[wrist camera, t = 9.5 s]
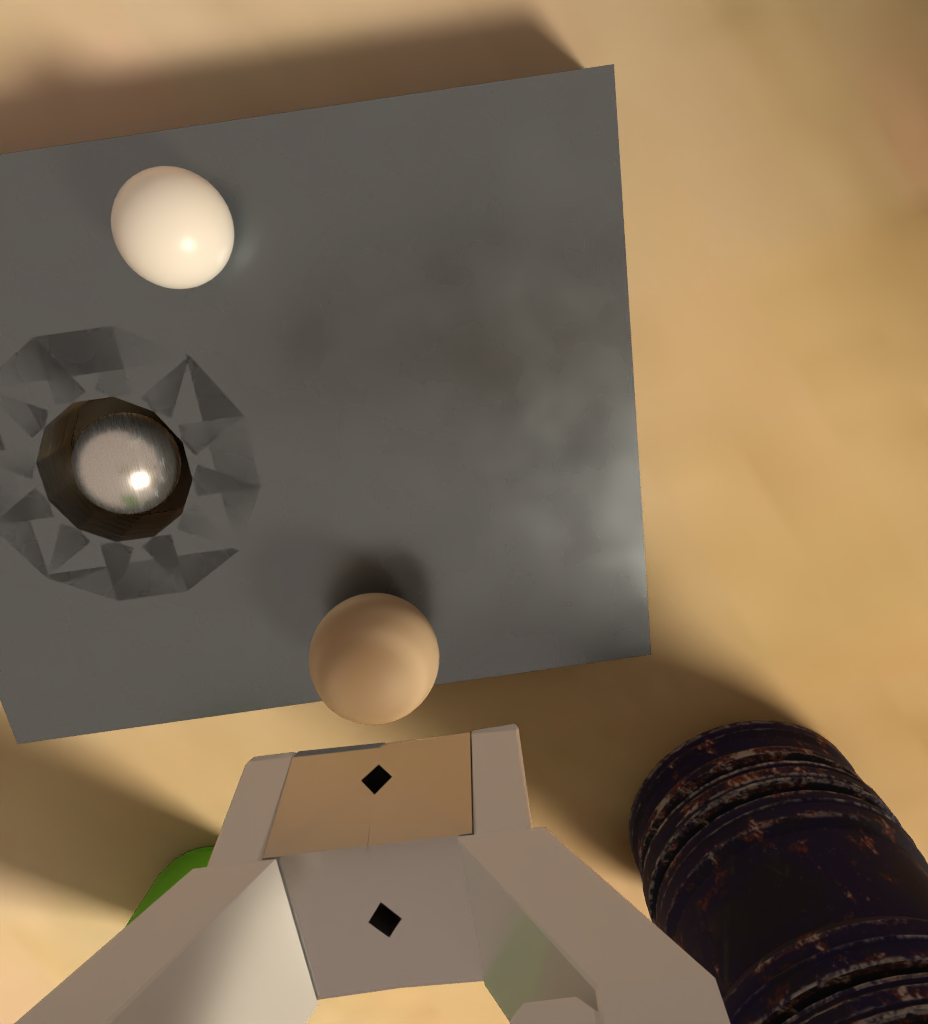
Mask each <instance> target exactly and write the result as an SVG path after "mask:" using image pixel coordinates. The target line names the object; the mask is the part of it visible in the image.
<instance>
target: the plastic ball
mask: <svg viewBox="0 0 928 1024" xmlns="http://www.w3.org/2000/svg"><path fill="white" fill-rule="evenodd" d="M111 230H112V234H113V238H114V241H115V244H116V246H117V248H118V251H119V252H120V254H121V256H122V257H123V259H124V260H125V261H126V263H127V264H128V265H129V266H130V267H131V268H132V269H133V270H134V271H135V272H136V273H137V274H138V275H140V276H141V277H143V278H144V279H146V280H147V281H150V282H152V283H154V284H156V285H159V286H162V287H166V288H171V289H188V288H193V287H197V286H200V285H202V284H204V283H206V282H208V281H210V280H211V279H213V278H214V277H215V276H217V275H218V274H219V273H220V272H221V271H222V269H223V268H224V266H225V265H226V263H227V262H228V260H229V258H230V255H231V252H232V249H233V244H234V225H233V220H232V216H231V213H230V211H229V208H228V206H227V204H226V202H225V201H224V199H223V197H222V196H221V195H220V193H219V192H218V191H217V190H216V189H215V188H214V186H213V185H211V184H210V183H209V182H208V181H207V180H205V179H204V178H202V177H201V176H199V175H197V174H195V173H193V172H191V171H189V170H186V169H183V168H179V167H174V166H157V167H152V168H148V169H146V170H143V171H141V172H139V173H137V174H136V175H134V176H132V177H131V178H130V179H129V180H127V182H126V183H125V184H124V185H123V186H122V187H121V189H120V190H119V192H118V194H117V196H116V198H115V200H114V204H113V207H112V212H111Z"/></svg>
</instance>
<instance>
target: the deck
mask: <svg viewBox="0 0 928 1024" xmlns="http://www.w3.org/2000/svg"><path fill="white" fill-rule="evenodd" d="M157 166H174V167H179V168H183V169H186V170H189V171H191V172H193V173H195V174H197V175H199V176H201V177H202V178H204V179H205V180H207V181H208V182H209V183H210V184H211V185H213V186H214V188H215V189H216V190H217V191H218V192H219V193H220V195H221V196H222V197H223V199H224V201H225V202H226V204H227V206H228V208H229V211H230V213H231V216H232V220H233V225H234V244H233V249H232V252H231V255H230V258H229V260H228V262H227V263H226V265H225V266H224V268H223V269H222V271H221V272H220V273H219V274H218V275H217V276H215V277H214V278H213V279H211V280H210V281H208V282H206V283H204V284H202V285H200V286H197V287H193V288H188V289H171V288H166V287H162V286H159V285H156V284H154V283H152V282H150V281H147V280H146V279H144V278H143V277H141V276H140V275H138V274H137V273H136V272H135V271H134V270H133V269H132V268H131V267H130V266H129V265H128V264H127V263H126V261H125V260H124V259H123V257H122V256H121V254H120V252H119V251H118V248H117V246H116V244H115V241H114V238H113V234H112V230H111V212H112V207H113V204H114V200H115V198H116V196H117V194H118V192H119V190H120V189H121V187H122V186H123V185H124V184H125V183H126V182H127V180H129V179H130V178H131V177H132V176H134V175H136V174H137V173H139V172H141V171H143V170H146V169H148V168H152V167H157ZM107 397H116V398H118V399H121V400H124V401H127V402H129V403H132V404H135V405H138V406H140V407H143V408H146V409H148V410H151V411H154V412H155V413H156V414H157V415H158V417H159V418H160V419H161V420H162V421H163V422H164V423H165V424H166V425H167V426H168V427H169V428H170V429H171V430H172V431H173V432H174V434H175V435H176V436H177V437H178V438H179V439H180V440H181V441H182V442H183V445H184V449H185V453H186V457H187V460H188V464H189V468H190V472H191V475H192V479H193V481H192V484H191V487H190V490H189V494H188V497H187V500H186V503H185V505H183V506H182V507H181V508H180V509H178V510H174V511H167V512H160V513H153V514H146V515H142V514H139V513H135V514H120V513H114V512H111V511H108V510H105V509H103V508H101V507H99V506H97V505H95V504H94V503H92V502H91V501H90V500H89V499H88V498H87V497H86V496H85V495H84V494H83V493H82V492H81V490H80V489H79V487H78V486H77V484H76V482H75V479H74V476H73V473H72V466H71V458H72V452H73V447H72V444H71V440H72V436H73V432H74V428H75V424H76V420H77V416H78V412H79V409H80V408H81V407H82V406H83V405H84V404H86V403H87V402H88V401H89V400H93V399H100V398H107ZM366 593H384V594H390V595H393V596H397V597H399V598H402V599H404V600H406V601H408V602H409V603H411V604H412V605H414V606H415V607H416V608H417V609H418V610H419V611H420V612H421V613H422V614H423V615H424V616H425V617H426V619H427V620H428V621H429V623H430V625H431V626H432V628H433V630H434V633H435V635H436V638H437V642H438V647H439V668H438V673H437V677H436V679H435V682H434V685H438V684H445V683H452V682H459V681H466V680H474V679H481V678H488V677H495V676H502V675H509V674H516V673H523V672H530V671H537V670H544V669H551V668H558V667H566V666H573V665H580V664H587V663H594V662H601V661H608V660H615V659H622V658H629V657H636V656H643V655H651V646H650V630H649V614H648V598H647V582H646V567H645V551H644V535H643V519H642V503H641V487H640V472H639V456H638V440H637V424H636V408H635V392H634V377H633V361H632V345H631V329H630V313H629V298H628V282H627V266H626V250H625V234H624V218H623V203H622V187H621V171H620V155H619V139H618V123H617V108H616V92H615V76H614V64H612V65H605V66H599V67H592V68H585V69H578V70H571V71H565V72H558V73H551V74H544V75H537V76H530V77H524V78H517V79H510V80H503V81H496V82H490V83H483V84H476V85H469V86H462V87H456V88H449V89H442V90H435V91H428V92H422V93H415V94H408V95H401V96H394V97H388V98H381V99H374V100H367V101H360V102H353V103H347V104H340V105H333V106H326V107H319V108H313V109H306V110H299V111H292V112H285V113H279V114H272V115H265V116H258V117H251V118H245V119H238V120H231V121H224V122H217V123H210V124H204V125H197V126H190V127H183V128H176V129H170V130H163V131H156V132H149V133H142V134H136V135H129V136H122V137H115V138H108V139H102V140H95V141H88V142H81V143H74V144H67V145H61V146H54V147H47V148H40V149H33V150H27V151H20V152H13V153H6V154H0V700H1V703H2V705H3V708H4V710H5V713H6V715H7V718H8V720H9V723H10V726H11V728H12V731H13V733H14V736H15V738H16V741H17V743H18V744H20V743H27V742H34V741H41V740H49V739H56V738H63V737H70V736H77V735H84V734H91V733H98V732H105V731H112V730H119V729H126V728H134V727H141V726H148V725H155V724H162V723H169V722H176V721H183V720H190V719H197V718H204V717H211V716H219V715H226V714H233V713H240V712H247V711H254V710H261V709H268V708H275V707H282V706H289V705H296V704H304V703H311V702H318V701H323V700H322V699H321V698H320V696H319V695H318V693H317V691H316V689H315V687H314V685H313V682H312V679H311V676H310V669H309V651H310V645H311V641H312V638H313V635H314V633H315V631H316V629H317V627H318V625H319V624H320V622H321V621H322V619H323V618H324V617H325V616H326V615H327V614H328V612H329V611H330V610H332V609H333V608H334V607H335V606H337V605H338V604H340V603H341V602H343V601H345V600H347V599H349V598H351V597H354V596H357V595H361V594H366Z"/></svg>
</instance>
